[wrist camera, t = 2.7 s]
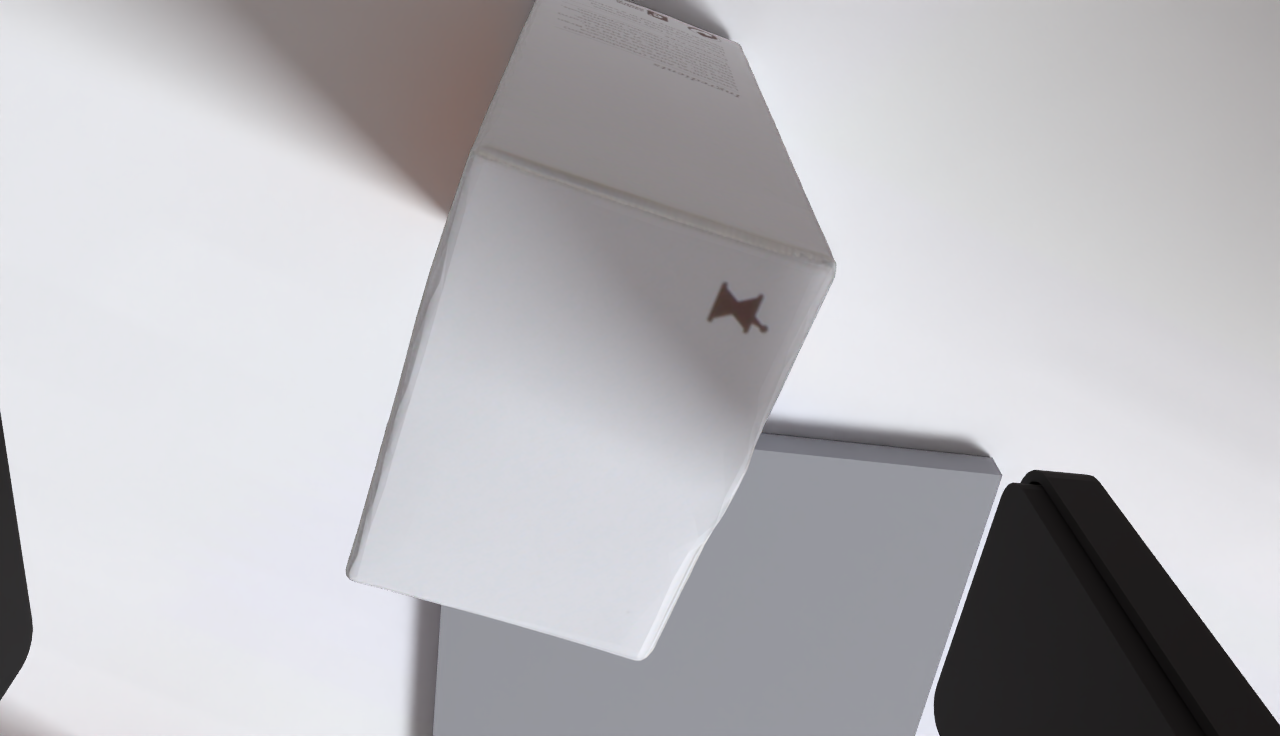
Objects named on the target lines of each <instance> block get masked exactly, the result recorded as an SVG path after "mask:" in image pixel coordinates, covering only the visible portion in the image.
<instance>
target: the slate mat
mask: <svg viewBox="0 0 1280 736" xmlns="http://www.w3.org/2000/svg"><path fill="white" fill-rule="evenodd" d="M1001 478H1002V474H1001V472H1000V471H999V469H998V467H997V465H996V464H995V462H994V460H993V458H991V457H982V456H973V455H963V454H954V453H944V452H935V451H925V450H916V449H907V448H897V447H888V446H878V445H869V444H859V443H850V442H841V441H831V440H822V439H812V438H803V437H793V436H784V435H774V434H765V433H761V434H760V436H759V439H758V441H757V443H756V445H755V448H754V451H753V454H752V457H751V460H750V463H749V466H748V469H747V471H746V473H745V475H744V477H743V479H742V481H741V483H740V485H739V487H738V489H737V491H736V493H735V495H734V497H733V499H732V501H731V502H730V504H729V506H728V508H727V510H726V511H725V513H724V515H723V516H722V518H721V520H720V521H719V523H718V524H717V525H716V527H715V528H714V530H713V531H712V533H711V535H710V536H709V538H708V540H707V542H706V543H705V545H704V547H703V549H702V551H701V553H700V555H699V557H698V559H697V561H696V563H695V565H694V567H693V570H692V572H691V574H690V576H689V578H688V580H687V582H686V584H685V586H684V588H683V590H682V592H681V594H680V596H679V598H678V600H677V602H676V604H675V606H674V608H673V610H672V612H671V615H670V617H669V619H668V621H667V623H666V625H665V627H664V629H663V631H662V633H661V635H660V637H659V639H658V641H657V643H656V645H655V647H654V649H653V651H652V652H651V653H650V654H649V655H648V657H647V658H645V659H643V660H641V661H634V660H631V659H627V658H624V657H621V656H618V655H615V654H612V653H609V652H605V651H602V650H599V649H596V648H592V647H589V646H586V645H582V644H579V643H575V642H572V641H569V640H565V639H562V638H559V637H555V636H552V635H548V634H545V633H541V632H538V631H534V630H531V629H528V628H524V627H521V626H517V625H514V624H510V623H507V622H503V621H500V620H496V619H492V618H489V617H485V616H482V615H478V614H474V613H470V612H467V611H463V610H459V609H456V608H452V607H448V606H444V605H441V616H440V631H439V647H438V662H437V678H436V693H435V709H434V724H433V736H915V734H916V731H917V728H918V725H919V722H920V719H921V716H922V713H923V710H924V707H925V704H926V701H927V698H928V695H929V692H930V689H931V686H932V683H933V680H934V677H935V674H936V671H937V668H938V665H939V662H940V659H941V656H942V653H943V650H944V647H945V644H946V641H947V638H948V635H949V632H950V629H951V627H952V624H953V621H954V618H955V615H956V612H957V609H958V606H959V603H960V600H961V597H962V594H963V591H964V588H965V585H966V582H967V579H968V576H969V573H970V570H971V567H972V564H973V561H974V558H975V555H976V552H977V549H978V546H979V543H980V540H981V537H982V534H983V531H984V528H985V525H986V522H987V519H988V516H989V513H990V511H991V508H992V505H993V502H994V499H995V496H996V493H997V490H998V487H999V484H1000V481H1001Z"/></svg>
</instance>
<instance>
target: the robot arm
mask: <svg viewBox="0 0 1280 736" xmlns="http://www.w3.org/2000/svg"><path fill="white" fill-rule="evenodd" d="M32 632H33V625H32V616H31V609H30V603H29V596H28V590H27V583H26V577H25V570H24V564H23V557H22V550H21V544H20V537H19V531H18V524H17V518H16V511H15V505H14V498H13V492H12V485H11V478H10V472H9V465H8V459H7V452H6V446H5V439H4V433H3V426H2V420H1V413H0V700H1V699H2V697H3V696H4V694H5V693H6V691H7V689H8V688H9V686H10V685H11V683H12V682H13V680H14V679H15V677H16V675H17V674H18V672H19V671H20V669H21V668H22V666H23V664H24V662H25V660H26V658H27V655H28V652H29V650H30V645H31V641H32ZM934 716H935V723H936V726H937V730H938V732H939V735H940V736H1280V725H1279V724H1278V722H1277V721H1276V720H1275V718H1274V717H1273V716H1272V714H1271V713H1270V711H1269V710H1268V709H1267V707H1266V706H1265V705H1264V703H1263V702H1262V701H1261V699H1260V698H1259V697H1258V695H1257V694H1256V693H1255V691H1254V690H1253V689H1252V687H1251V686H1250V684H1249V683H1248V682H1247V680H1246V679H1245V678H1244V676H1243V675H1242V674H1241V672H1240V671H1239V670H1238V668H1237V667H1236V666H1235V664H1234V663H1233V662H1232V660H1231V659H1230V657H1229V656H1228V655H1227V653H1226V652H1225V651H1224V649H1223V648H1222V647H1221V645H1220V644H1219V643H1218V641H1217V640H1216V639H1215V637H1214V636H1213V635H1212V633H1211V632H1210V630H1209V629H1208V628H1207V626H1206V625H1205V624H1204V622H1203V621H1202V620H1201V618H1200V617H1199V616H1198V614H1197V613H1196V612H1195V610H1194V609H1193V608H1192V606H1191V605H1190V603H1189V602H1188V601H1187V599H1186V598H1185V597H1184V595H1183V594H1182V593H1181V591H1180V590H1179V589H1178V587H1177V586H1176V585H1175V583H1174V582H1173V581H1172V579H1171V578H1170V576H1169V575H1168V574H1167V572H1166V571H1165V570H1164V568H1163V567H1162V566H1161V564H1160V563H1159V562H1158V560H1157V559H1156V558H1155V556H1154V555H1153V554H1152V552H1151V551H1150V549H1149V548H1148V547H1147V545H1146V544H1145V543H1144V541H1143V540H1142V539H1141V537H1140V536H1139V535H1138V533H1137V532H1136V531H1135V529H1134V528H1133V527H1132V525H1131V524H1130V522H1129V521H1128V520H1127V518H1126V517H1125V516H1124V514H1123V513H1122V512H1121V510H1120V509H1119V508H1118V506H1117V505H1116V504H1115V502H1114V501H1113V500H1112V498H1111V497H1110V496H1109V494H1108V493H1107V491H1106V490H1105V489H1104V487H1103V486H1102V485H1101V483H1100V482H1099V481H1098V480H1097V479H1096V478H1095V477H1094V476H1090V475H1085V474H1074V473H1063V472H1053V471H1042V470H1033V471H1030V472H1028V473H1027V474H1026V476H1025V477H1024V478H1023V479H1022V481H1021V483H1011V484H1009V485H1008V486H1007V487H1006V488H1005V490H1004V492H1003V494H1002V496H1001V499H1000V502H999V505H998V508H997V510H996V513H995V516H994V519H993V522H992V525H991V528H990V531H989V534H988V537H987V540H986V543H985V546H984V549H983V552H982V555H981V557H980V560H979V563H978V566H977V569H976V572H975V575H974V578H973V581H972V584H971V587H970V590H969V593H968V596H967V599H966V601H965V604H964V607H963V610H962V613H961V616H960V619H959V622H958V625H957V628H956V631H955V634H954V637H953V640H952V643H951V646H950V648H949V651H948V654H947V657H946V660H945V663H944V666H943V669H942V672H941V675H940V678H939V681H938V684H937V687H936V691H935V697H934Z"/></svg>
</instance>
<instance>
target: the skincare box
mask: <svg viewBox="0 0 1280 736" xmlns="http://www.w3.org/2000/svg"><path fill="white" fill-rule="evenodd" d="M835 274H836V262H835V260H834V258H833V256H832V253H831V250H830V248H829V246H828V243H827V241H826V239H825V236H824V234H823V232H822V230H821V228H820V226H819V224H818V221H817V219H816V217H815V215H814V212H813V210H812V208H811V206H810V203H809V201H808V199H807V197H806V194H805V192H804V190H803V187H802V185H801V182H800V180H799V177H798V175H797V173H796V171H795V169H794V167H793V164H792V162H791V160H790V157H789V155H788V153H787V150H786V148H785V146H784V144H783V142H782V139H781V137H780V134H779V132H778V129H777V128H776V125H775V122H774V120H773V118H772V116H771V114H770V112H769V109H768V107H767V105H766V103H765V100H764V98H763V95H762V94H761V91H760V89H759V87H758V84H757V81H756V79H755V76H754V74H753V72H752V70H751V68H750V66H749V63H748V60H747V58H746V57H745V55H744V52H743V50H742V47H741V46H740V44H738V43H736V42H734V41H731V40H728V39H726V38H723V37H721V36H718V35H715V34H713V33H710V32H707V31H705V30H702V29H699V28H697V27H694V26H692V25H689V24H687V23H684V22H682V21H680V20H677V19H675V18H672V17H670V16H667V15H664V14H662V13H659V12H656V11H653V10H651V9H648V8H645V7H642V6H639V5H637V4H634V3H631V2H628V1H625V0H535V3H534V5H533V8H532V10H531V12H530V14H529V17H528V19H527V21H526V24H525V25H524V27H523V29H522V32H521V34H520V37H519V39H518V42H517V44H516V46H515V49H514V51H513V53H512V56H511V58H510V61H509V63H508V65H507V67H506V70H505V72H504V74H503V77H502V79H501V81H500V83H499V86H498V88H497V91H496V93H495V95H494V97H493V99H492V102H491V104H490V106H489V108H488V111H487V113H486V115H485V118H484V120H483V123H482V125H481V128H480V130H479V133H478V136H477V138H476V140H475V142H474V144H473V146H472V149H471V151H470V153H469V156H468V159H467V162H466V165H465V168H464V171H463V174H462V177H461V180H460V183H459V186H458V189H457V192H456V194H455V197H454V200H453V203H452V206H451V209H450V212H449V215H448V218H447V221H446V224H445V227H444V230H443V233H442V236H441V239H440V242H439V245H438V248H437V251H436V254H435V257H434V260H433V263H432V266H431V269H430V272H429V276H428V279H427V283H426V286H425V290H424V293H423V296H422V300H421V303H420V307H419V310H418V314H417V317H416V321H415V325H414V329H413V332H412V336H411V340H410V344H409V348H408V351H407V355H406V359H405V363H404V367H403V371H402V374H401V378H400V382H399V385H398V389H397V393H396V397H395V400H394V404H393V407H392V411H391V414H390V418H389V421H388V423H387V427H386V430H385V434H384V438H383V442H382V445H381V448H380V452H379V456H378V460H377V464H376V467H375V470H374V474H373V477H372V481H371V484H370V488H369V491H368V495H367V499H366V502H365V506H364V509H363V513H362V516H361V520H360V524H359V527H358V531H357V534H356V537H355V540H354V543H353V547H352V550H351V553H350V556H349V560H348V563H347V567H346V575H347V577H348V578H349V579H350V580H352V581H354V582H357V583H361V584H365V585H369V586H374V587H378V588H381V589H385V590H389V591H392V592H396V593H400V594H403V595H407V596H411V597H414V598H418V599H422V600H425V601H429V602H433V603H437V604H440V605H444V606H448V607H452V608H456V609H459V610H463V611H467V612H470V613H474V614H478V615H482V616H485V617H489V618H492V619H496V620H500V621H503V622H507V623H510V624H514V625H517V626H521V627H524V628H528V629H531V630H534V631H538V632H541V633H545V634H548V635H552V636H555V637H559V638H562V639H565V640H569V641H572V642H575V643H579V644H582V645H586V646H589V647H592V648H596V649H599V650H602V651H605V652H609V653H612V654H615V655H618V656H621V657H624V658H627V659H631V660H634V661H641V660H643V659H645V658H647V657H648V655H649V654H650V653H651V652H652V651H653V649H654V647H655V645H656V643H657V641H658V639H659V637H660V635H661V633H662V631H663V629H664V627H665V625H666V623H667V621H668V619H669V617H670V615H671V612H672V610H673V608H674V606H675V604H676V602H677V600H678V598H679V596H680V594H681V592H682V590H683V588H684V586H685V584H686V582H687V580H688V578H689V576H690V574H691V572H692V570H693V567H694V565H695V563H696V561H697V559H698V557H699V555H700V553H701V551H702V549H703V547H704V545H705V543H706V542H707V540H708V538H709V536H710V535H711V533H712V531H713V530H714V528H715V527H716V525H717V524H718V523H719V521H720V520H721V518H722V516H723V515H724V513H725V511H726V510H727V508H728V506H729V504H730V502H731V501H732V499H733V497H734V495H735V493H736V491H737V489H738V487H739V485H740V483H741V481H742V479H743V477H744V475H745V473H746V471H747V469H748V466H749V463H750V460H751V457H752V454H753V451H754V448H755V445H756V443H757V441H758V439H759V436H760V434H761V432H762V430H763V427H764V425H765V423H766V421H767V418H768V416H769V414H770V412H771V410H772V408H773V406H774V404H775V402H776V400H777V398H778V396H779V394H780V392H781V390H782V388H783V385H784V383H785V381H786V379H787V377H788V375H789V373H790V370H791V368H792V366H793V364H794V362H795V360H796V357H797V355H798V353H799V351H800V349H801V347H802V345H803V343H804V340H805V338H806V336H807V334H808V332H809V330H810V328H811V326H812V324H813V322H814V320H815V318H816V316H817V313H818V311H819V309H820V307H821V305H822V303H823V301H824V299H825V297H826V295H827V292H828V290H829V288H830V286H831V284H832V282H833V280H834V278H835Z"/></svg>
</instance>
